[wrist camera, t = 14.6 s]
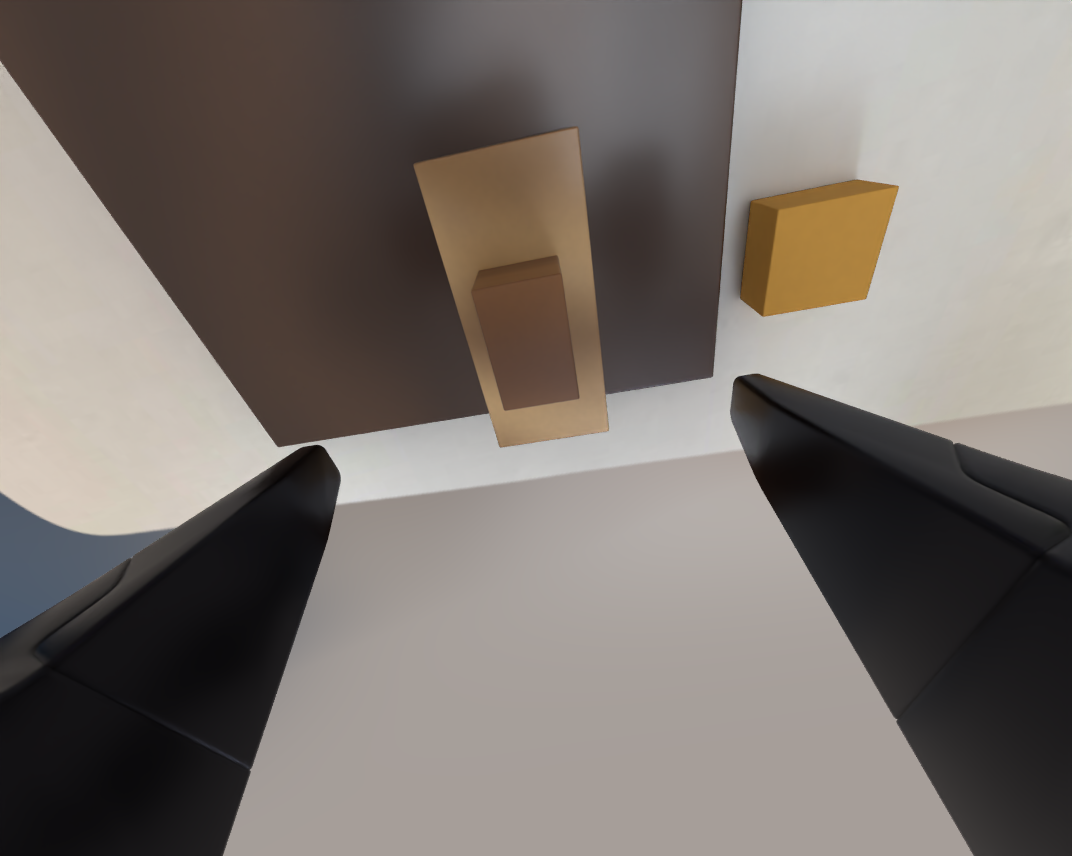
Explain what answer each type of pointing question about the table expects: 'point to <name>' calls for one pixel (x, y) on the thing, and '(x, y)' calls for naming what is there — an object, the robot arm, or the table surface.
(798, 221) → the mustard orange square block
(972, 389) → the table surface
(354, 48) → the board
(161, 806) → the robot arm
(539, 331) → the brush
